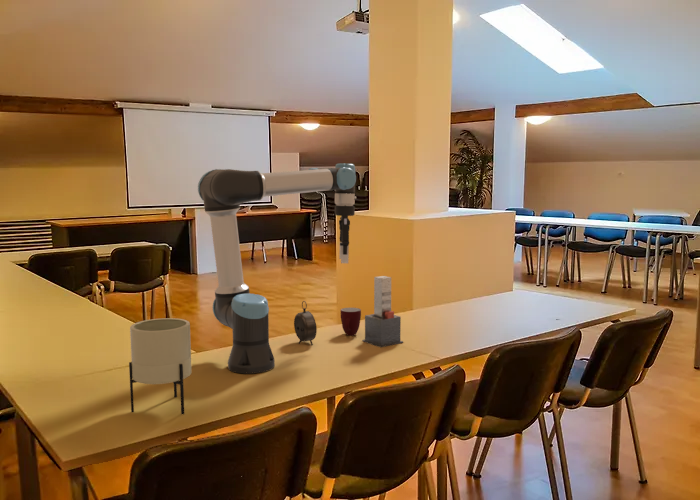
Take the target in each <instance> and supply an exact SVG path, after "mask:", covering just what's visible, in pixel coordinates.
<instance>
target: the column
mask: <svg viewBox="0 0 700 500" xmlns="http://www.w3.org/2000/svg"><path fill="white" fill-rule="evenodd" d="M373 281H374V287H373V288H374V290H373V293H374V295H373V296H374V299H373V301H374V305H373V306H374V307H373V310H374V311H373V314H374V317H377V318H380V319H383V318H385V312H387V311H392V276H387V275H381V276H379V275H378V276H374V280H373Z"/></svg>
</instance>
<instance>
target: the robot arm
mask: <svg viewBox="0 0 700 500" xmlns="http://www.w3.org/2000/svg"><path fill="white" fill-rule="evenodd" d="M356 182H357V175H356V166H355V164H354V163H336V164H335V167H310V168H308V169H305V170H303V169H302V170H291V171H276V172H264V173H263V172H260V171H259V170H240V169H232V168H231V169H229V168H227V169H226V168H225V169H220V168H219V169H217V168H215V169H212V170H208V171H207V172H205V173H204V174H203V175H202V176H201V177H200V179H199V180H198V184H197V193H198V195H199V197H200V198H201V200H202V201H203V209H204V212H205V213H206V214H207V215H208V216H209V218H210V226H211V235H212V243H213V251H214V257H215V258H214V259H215V267H216V275H217V287H216V288H215V290H214V296H215V298H214V300H213V303H212V312H213V315H214V318H215V319H216V320H217V321H218V322H219V323H220V324H221V325H223V326H226V327H228V328H229V329H232V348H231V350H230V352H229V356H228V360H227V369H228V370H229V371H230V372H232V373H237V374H245V375H246V374H247V375H248V374H249V375H250V374H259V373H265V372H267V371H270V370H272V369H274V368H275V365H276V364H275V356H274V353H273V352H272V348H271V345H270V339H269V338H270V337H269V336H270V333H269V330H270V329H269V328H270V327H269V326H270V325H269V311H270V308H269V301H268V299H267V298H266V297H265V296H263V295H260V294H255V293H250V287H249V285H248V284H246V283H245V282H244V273H243V264H242V254H241V246H240V238H239V229H238V220H237V213H238V212H239V210H240V209H241V205H240V204H244V203H250V202H257V201H262V199H263V198H266V197H276V196H286V195H294V194H295V195H296V194H305V193H315V192H316V193H317V192H324V191H334V204H335V206H334V216H340V218H339V220H338V225H339V237H338V239H339V253H338V254H339V255H338V256H339V260H340V263H341V264H349V257H350V256H349V254H350V253H349V252H350V251H349V249H350V246H349V245H350V225H351V220H350V219H349V217H351V216H352V217H353V216H354V215H355V214H356V213H355V207H356V206H354V205H355V200H356V199H357V196H355V195H356V194H355V193H356Z"/></svg>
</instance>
